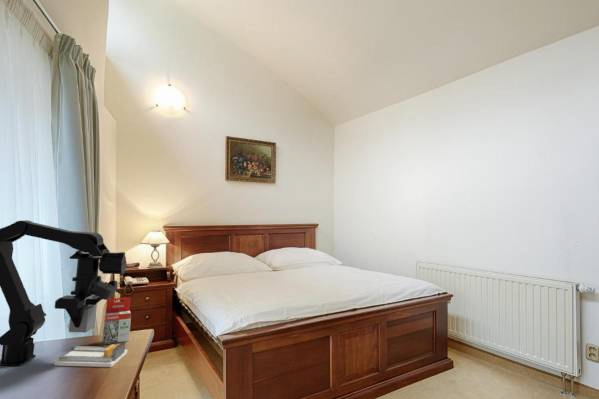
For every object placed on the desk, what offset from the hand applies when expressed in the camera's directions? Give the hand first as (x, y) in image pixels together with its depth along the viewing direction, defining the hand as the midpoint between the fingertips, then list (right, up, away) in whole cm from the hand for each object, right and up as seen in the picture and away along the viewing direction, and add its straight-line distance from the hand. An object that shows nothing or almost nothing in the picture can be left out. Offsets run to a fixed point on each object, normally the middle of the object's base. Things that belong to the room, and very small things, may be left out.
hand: (82, 324), depth 99 cm
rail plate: (+3, -10, 0) cm, 11 cm away
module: (0, -2, 0) cm, 2 cm away
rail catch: (+8, -10, 0) cm, 13 cm away
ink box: (+3, -11, +14) cm, 18 cm away
